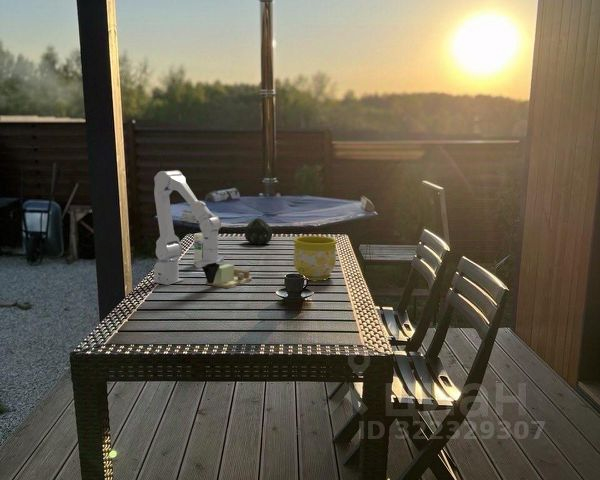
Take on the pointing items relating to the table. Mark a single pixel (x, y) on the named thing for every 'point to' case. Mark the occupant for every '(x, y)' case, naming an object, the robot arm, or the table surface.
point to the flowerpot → (314, 256)
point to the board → (239, 279)
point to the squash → (258, 232)
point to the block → (224, 273)
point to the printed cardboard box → (198, 247)
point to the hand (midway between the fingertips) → (210, 282)
